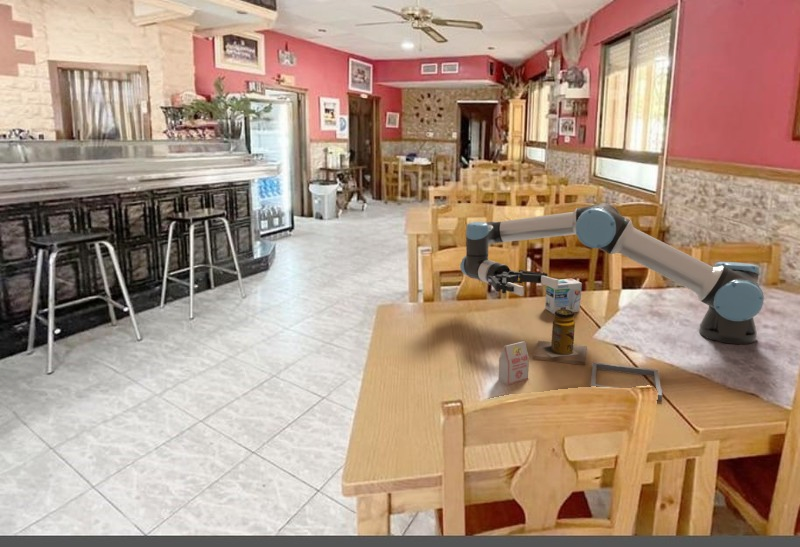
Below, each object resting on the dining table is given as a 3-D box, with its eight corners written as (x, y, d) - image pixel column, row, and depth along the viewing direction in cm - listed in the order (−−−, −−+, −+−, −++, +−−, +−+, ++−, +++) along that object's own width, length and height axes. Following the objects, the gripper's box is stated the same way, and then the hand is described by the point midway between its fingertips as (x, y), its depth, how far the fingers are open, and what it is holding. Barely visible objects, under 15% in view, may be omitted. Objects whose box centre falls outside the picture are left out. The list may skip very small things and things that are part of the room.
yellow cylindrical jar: (579, 354, 153) (581, 314, 150) (551, 357, 151) (554, 317, 148) (565, 345, 159) (568, 306, 156) (539, 348, 158) (541, 309, 155)
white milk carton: (498, 379, 141) (499, 343, 138) (518, 374, 144) (520, 338, 141) (507, 385, 137) (508, 348, 135) (528, 379, 140) (529, 343, 138)
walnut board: (586, 349, 159) (587, 346, 158) (584, 365, 148) (585, 361, 148) (538, 343, 164) (538, 340, 163) (532, 358, 153) (533, 355, 153)
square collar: (657, 375, 141) (657, 369, 141) (661, 401, 128) (662, 395, 127) (592, 366, 147) (592, 361, 146) (590, 391, 133) (590, 385, 133)
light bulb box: (553, 314, 189) (555, 285, 187) (544, 308, 196) (545, 280, 193) (580, 311, 192) (582, 282, 189) (570, 306, 198) (572, 277, 196)
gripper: (523, 278, 185) (570, 293, 167) (464, 290, 173) (507, 307, 155) (524, 257, 183) (571, 269, 165) (463, 267, 171) (507, 281, 153)
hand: (540, 287), depth 160 cm, fingers open, 13 cm apart
